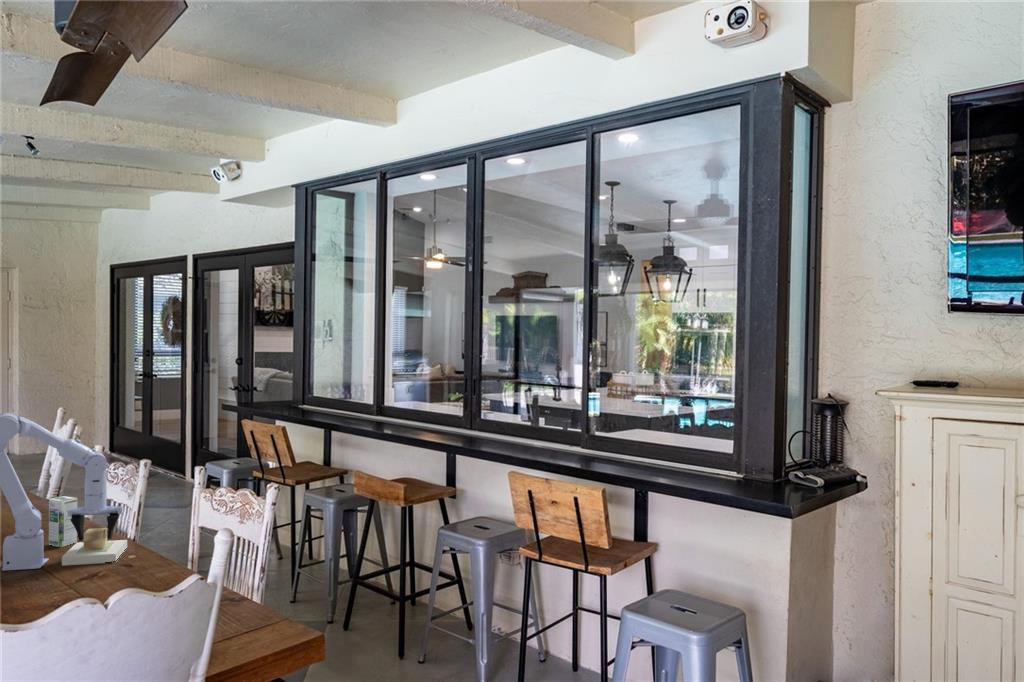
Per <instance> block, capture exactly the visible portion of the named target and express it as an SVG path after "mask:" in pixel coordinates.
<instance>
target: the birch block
mask: <svg viewBox="0 0 1024 682" xmlns="http://www.w3.org/2000/svg"><path fill="white" fill-rule="evenodd" d="M107 541H108V527H97V528H88V529H87V530H85V531H84V539H83V542H84V550H100V549H103V548H104V547H105V546H106V545H107Z"/></svg>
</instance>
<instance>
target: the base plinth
mask: <svg viewBox="0 0 1024 682" xmlns="http://www.w3.org/2000/svg"><path fill="white" fill-rule="evenodd" d="M126 548H128V539H120V540H119V539H116V540H107V545H106V546H105V547H104V548H103V549H100V550H84V541H82V542H81V541H80V542H78V541H77V543H74V545H73V546H71V547H70V549H69V550H67V551H66V552H65V553H64V554H63V555H62V556H61V566H63V567H64V566H79V565H93V564H96V565H97V564H106V563H105V562H111V561H116V560H117V559H118V558H119V556H120V555H121V554H122V553H123V552H124V553H125V551H126V550H127V549H126ZM125 549H126V550H125ZM124 550H125V551H124ZM124 553H123V554H124ZM123 554H122V555H123ZM122 555H121V556H122ZM121 556H120V557H121ZM119 559H120V558H119ZM119 559H118V560H119ZM118 560H117V561H118ZM117 561H116V562H117Z"/></svg>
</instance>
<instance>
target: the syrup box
mask: <svg viewBox="0 0 1024 682" xmlns="http://www.w3.org/2000/svg"><path fill="white" fill-rule="evenodd" d="M73 508H78V497H74V496H66V495H63V496H56V497H52V498H50V499H48V546H50V545H52V547H56V548H57V547H58V548H63V547H67V545H68V546H70V544H71V545H73V543H74V544H76V543H77V542H78V534H77V531H76V529H75V527H74V525H73V524H72V522H71V517H72V516H71V517H67V510H69V509H73Z"/></svg>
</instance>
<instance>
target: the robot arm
mask: <svg viewBox="0 0 1024 682" xmlns="http://www.w3.org/2000/svg"><path fill="white" fill-rule="evenodd" d="M17 434H18V437H19V438H24V437H25V438H26V437H32V438H34V439H36V440H37V441H40V442H42V443H43V444H46V445H47V446H50V447H52V448H54V449H56V450H57V452H58V456H59V457H60V458H63V459H64V460H66V461H69V462H70V463H73V464H74V465H76V466H79V467H84V469H85V478H84V506H83V507H77V508H73V509H69V510H67V517H71V516H72V517H71V522H72V524H73V525H74V527H75V529H76V531H77V538H78V541H80V542H81V541H82V542H83V541H84V533H85V531H84V530H85V529H84V527H85V526H84V524H85V523H84V521H85V516H96V515H97V516H99V515H107V516H106V521H107V540H111V539H112V538H113V534H114V529H115V527H116V523H117V521H118V519H119V517H120V515H123V513H124V506H116V505H114V506H113V505H107V499H108V498H107V496H108V495H107V489H108V488H107V476H106V475H107V469H108V467H109V466H108V465H109V464H108V462H107V458H106V456H105V455H104V454H103V453H102V452H100V451H99V450H98V451H97V449H95V448H94V447H93V448H91V447H88V446H87V445H84V444H83V443H82V441H81V440H80V439H79V438H76V439H74V438H68V439H64V438H62V437H60V436H59V435H57V434H55V433H54V432H51V431H50V430H48V429H46V427H43V426H42V425H40V424H38V423H36V422H34V421H32V420H31V419H28V418H26V417H23V416H19V415H18V414H16V413H14V412H13V411H6V412H2V413H0V488H1V491H2V493H3V495H4V497H5V499H6V501H7V503H8V505H9V507H10V510H11V512H12V516H13V518H14V521H15V524H14V528H15V529H14V530H15V532H14V533H13V534H12V535H7V536H6V537H5V538H4V540H3V544H2V569H1V571H2V572H3V571H17V570H18V571H19V570H33V569H35V570H36V569H37V570H38V569H40V568H42V567H43V566H44V565H45V564H46V563H47V562H48V561H49V559H50V558H49V557H47V558H44V557H45V555H44V554H45V551H44V549H45V547H44V546H45V545H44V541H45V540H44V539H45V538H44V535H45V534H44V530H43V529H42V526H43V524H42V523H43V522H42V513H41V512H40V510H39V509H37V508H36V507H35V506H34V505H33V503H32V502H31V500H30V499H29V497H28V495H27V493H26V491H25V489H24V487H23V484H22V483H21V481H20V478H19V477H18V474H17V472H16V470H15V468H14V466H13V465H12V462H11V460H10V458H9V456H8V454H7V452H6V448H7V447H8V445H9V443H10V441H11V440H12V439H13V438H14V437H16V435H17Z"/></svg>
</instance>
